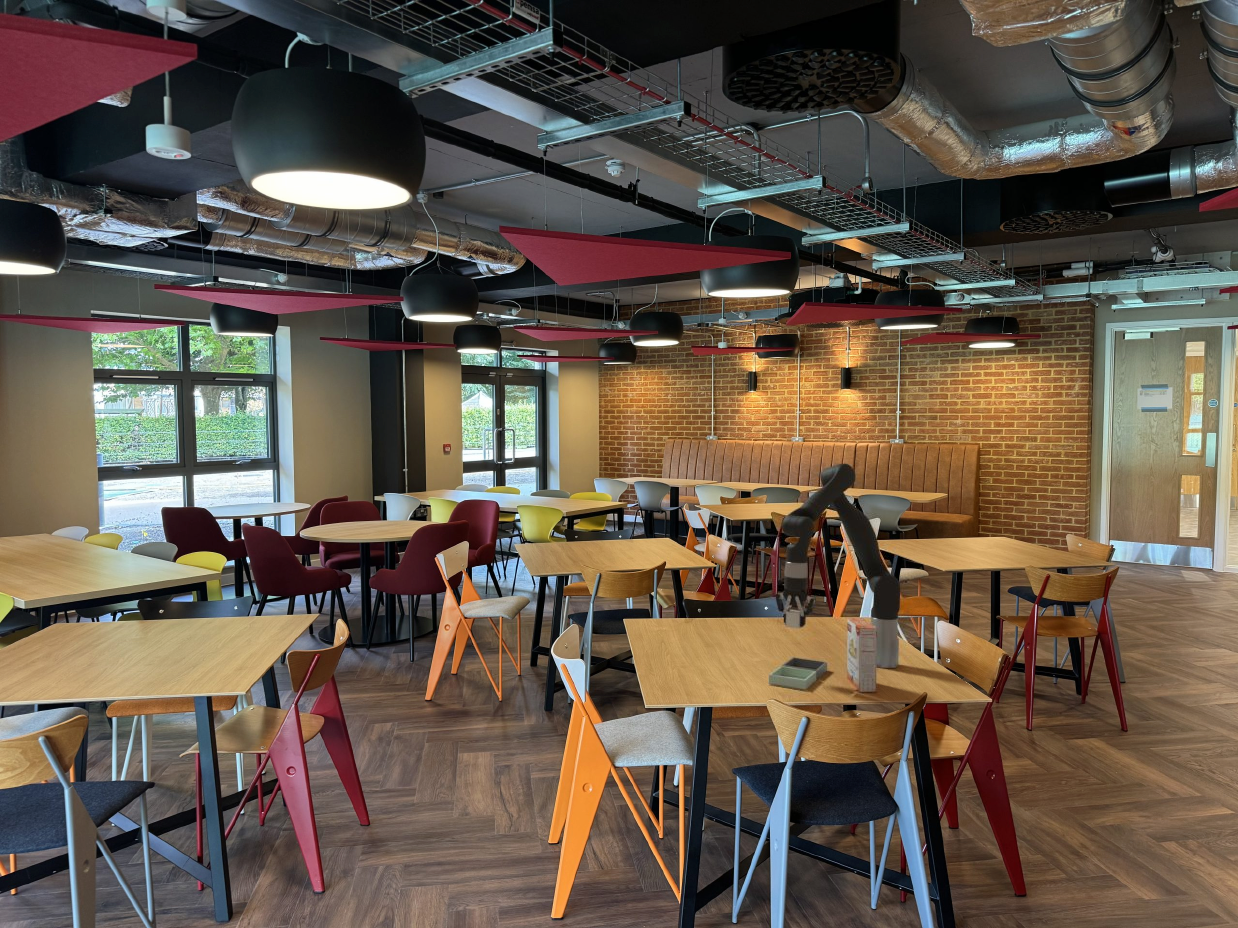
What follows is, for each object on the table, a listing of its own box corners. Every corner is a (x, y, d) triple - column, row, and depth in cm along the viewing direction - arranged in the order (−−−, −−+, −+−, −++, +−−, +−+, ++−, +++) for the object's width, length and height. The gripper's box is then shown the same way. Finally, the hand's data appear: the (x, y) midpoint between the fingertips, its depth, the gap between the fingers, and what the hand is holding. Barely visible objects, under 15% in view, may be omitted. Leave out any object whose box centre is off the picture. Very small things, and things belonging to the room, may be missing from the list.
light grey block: (803, 626, 265) (803, 611, 265) (798, 628, 261) (799, 613, 261) (790, 624, 267) (790, 609, 267) (785, 626, 263) (786, 611, 263)
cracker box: (845, 679, 264) (846, 617, 263) (863, 679, 264) (864, 618, 263) (857, 692, 250) (858, 627, 249) (876, 692, 250) (877, 627, 249)
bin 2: (827, 672, 273) (827, 662, 272) (817, 680, 262) (817, 670, 262) (792, 666, 279) (793, 657, 279) (781, 675, 268) (781, 665, 268)
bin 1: (816, 681, 261) (816, 671, 261) (805, 691, 251) (805, 680, 251) (780, 675, 267) (781, 665, 267) (768, 685, 257) (768, 674, 257)
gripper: (820, 576, 263) (818, 626, 263) (779, 571, 271) (778, 620, 271) (813, 579, 257) (811, 630, 257) (771, 574, 264) (770, 624, 265)
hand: (794, 625), depth 264 cm, fingers closed on light grey block, 4 cm apart
